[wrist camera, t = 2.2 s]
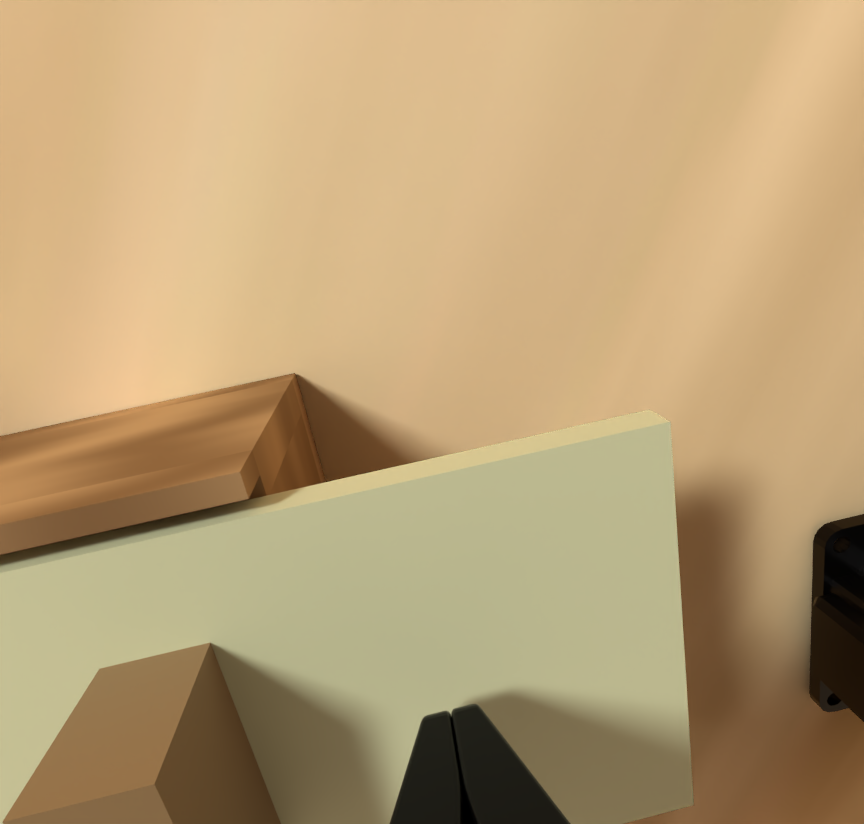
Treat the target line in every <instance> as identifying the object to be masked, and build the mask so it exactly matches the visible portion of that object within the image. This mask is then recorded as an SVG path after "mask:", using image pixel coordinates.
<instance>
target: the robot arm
mask: <svg viewBox="0 0 864 824" xmlns="http://www.w3.org/2000/svg"><path fill="white" fill-rule="evenodd" d="M836 540H837V541H836ZM835 541H836V542H835ZM834 542H835V543H834ZM809 693H810V697H811V698H812V699H813V700H814V701H815V702H816V703H817V704H818V705H819V706H820V707H821V708H822V709H823V710H824V711H827V712H833V711H838V710H842V709H846V708H850V709H851V710H852V711H853V712H854V713H855V714H856V715H857V716H858V717H859V718H860V719H861V720H862V721H863V722H864V514H862V515H858V516H854V517H850V518H845V519H841V520H837V521H833V522H830V523H827V524H825V525H823V526H822V527H821V528H820V529H819V530H818V531H817V533H816V534H815V537H814V541H813V579H812V617H811V655H810V692H809ZM390 824H571V823H570V822H569V821H568V820H567V818H566V817H565V816H564V814H563V813H562V812H561V810H560V809H559V808H558V807H557V805H556V804H555V803H554V801H553V800H552V799H551V798H550V796H549V795H548V794H547V792H546V791H545V790H544V789H543V787H542V786H541V785H540V783H539V782H538V781H537V779H536V778H535V777H534V776H533V774H532V773H531V772H530V770H529V769H528V768H527V767H526V765H525V764H524V763H523V761H522V760H521V759H520V757H519V756H518V755H517V754H516V752H515V751H514V750H513V748H512V747H511V746H510V745H509V743H508V742H507V741H506V739H505V738H504V737H503V735H502V734H501V733H500V732H499V730H498V729H497V728H496V726H495V725H494V724H493V723H492V721H491V720H490V719H489V717H488V716H487V715H486V713H485V712H484V711H483V710H482V708H481V707H480V706H479V705H478V704H470V705H466V706H462V707H458V708H454V709H453V710H452V712H451V714H450V712H449V711H441V712H437V713H433V714H429V715H426V716H424V717H423V719H422V721H421V723H420V726H419V730H418V733H417V736H416V739H415V743H414V746H413V749H412V752H411V756H410V759H409V762H408V765H407V769H406V772H405V775H404V778H403V782H402V785H401V788H400V791H399V795H398V798H397V801H396V804H395V808H394V811H393V814H392V817H391V820H390Z"/></svg>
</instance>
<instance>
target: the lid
mask: <svg viewBox="0 0 864 824" xmlns="http://www.w3.org/2000/svg"><path fill="white" fill-rule="evenodd" d="M470 704H478V705H479V706H480V707H481V708H482V710H483V711H484V712H485V713H486V715H487V716H488V717H489V719H490V720H491V721H492V723H493V724H494V725H495V726H496V728H497V729H498V730H499V732H500V733H501V734H502V735H503V737H504V738H505V739H506V741H507V742H508V743H509V745H510V746H511V747H512V748H513V750H514V751H515V752H516V754H517V755H518V756H519V757H520V759H521V760H522V761H523V763H524V764H525V765H526V767H527V768H528V769H529V770H530V772H531V773H532V774H533V776H534V777H535V778H536V779H537V781H538V782H539V783H540V785H541V786H542V787H543V789H544V790H545V791H546V792H547V794H548V795H549V796H550V798H551V799H552V800H553V801H554V803H555V804H556V805H557V807H558V808H559V809H560V810H561V812H562V813H563V814H564V816H565V817H566V818H567V820H568V821H569V822H570V823H571V824H625V823H629V822H632V821H636V820H640V819H644V818H648V817H651V816H655V815H659V814H663V813H666V812H670V811H674V810H678V809H682V808H685V807H689V806H693V805H694V798H693V782H692V765H691V749H690V733H689V716H688V700H687V684H686V668H685V651H684V635H683V619H682V602H681V586H680V570H679V554H678V537H677V521H676V505H675V488H674V472H673V456H672V439H671V423H670V421H669V420H667V419H665V418H663V417H662V416H660V415H658V414H657V413H655V412H653V411H651V410H645V411H641V412H636V413H632V414H627V415H623V416H618V417H614V418H610V419H605V420H601V421H596V422H592V423H587V424H583V425H578V426H574V427H569V428H565V429H561V430H556V431H552V432H547V433H543V434H538V435H534V436H529V437H525V438H521V439H516V440H512V441H507V442H503V443H498V444H494V445H489V446H485V447H480V448H476V449H472V450H467V451H463V452H458V453H454V454H449V455H445V456H440V457H436V458H431V459H427V460H423V461H418V462H414V463H409V464H405V465H400V466H396V467H391V468H387V469H383V470H378V471H374V472H369V473H365V474H360V475H356V476H351V477H347V478H342V479H338V480H334V481H329V482H325V483H320V484H316V485H311V486H307V487H302V488H298V489H293V490H289V491H285V492H280V493H276V494H271V495H267V496H262V497H258V498H253V499H249V500H245V501H240V502H236V503H231V504H227V505H222V506H218V507H213V508H209V509H204V510H200V511H196V512H191V513H187V514H182V515H178V516H173V517H169V518H164V519H160V520H155V521H151V522H147V523H142V524H138V525H133V526H129V527H124V528H120V529H115V530H111V531H107V532H102V533H98V534H93V535H89V536H84V537H80V538H75V539H71V540H66V541H62V542H58V543H53V544H49V545H44V546H40V547H35V548H31V549H26V550H22V551H17V552H13V553H9V554H4V555H0V824H390V820H391V817H392V814H393V811H394V808H395V804H396V801H397V798H398V795H399V791H400V788H401V785H402V782H403V778H404V775H405V772H406V769H407V765H408V762H409V759H410V756H411V752H412V749H413V746H414V743H415V739H416V736H417V733H418V730H419V726H420V723H421V721H422V719H423V717H424V716H426V715H429V714H433V713H437V712H441V711H449V712H450V714H451V712H452V710H453V709H454V708H458V707H462V706H466V705H470Z"/></svg>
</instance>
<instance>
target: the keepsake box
mask: <svg viewBox="0 0 864 824" xmlns="http://www.w3.org/2000/svg"><path fill="white" fill-rule="evenodd" d="M320 483H325V478H324V475H323V471H322V467H321V464H320V460H319V457H318V453H317V449H316V446H315V442H314V439H313V435H312V432H311V428H310V424H309V421H308V417H307V414H306V410H305V406H304V403H303V399H302V396H301V392H300V388H299V385H298V381H297V378H296V374H295V373H294V374H289V375H285V376H280V377H275V378H271V379H266V380H261V381H257V382H252V383H247V384H243V385H238V386H233V387H229V388H224V389H219V390H215V391H210V392H205V393H201V394H196V395H191V396H187V397H182V398H177V399H173V400H168V401H163V402H159V403H154V404H149V405H144V406H140V407H135V408H130V409H126V410H121V411H116V412H112V413H107V414H102V415H98V416H93V417H88V418H84V419H79V420H74V421H70V422H65V423H60V424H56V425H51V426H46V427H42V428H37V429H32V430H28V431H23V432H18V433H14V434H9V435H4V436H0V555H4V554H9V553H13V552H17V551H22V550H26V549H31V548H35V547H40V546H44V545H49V544H53V543H58V542H62V541H66V540H71V539H75V538H80V537H84V536H89V535H93V534H98V533H102V532H107V531H111V530H115V529H120V528H124V527H129V526H133V525H138V524H142V523H147V522H151V521H155V520H160V519H164V518H169V517H173V516H178V515H182V514H187V513H191V512H196V511H200V510H204V509H209V508H213V507H218V506H222V505H227V504H231V503H236V502H240V501H245V500H249V499H253V498H258V497H262V496H267V495H271V494H276V493H280V492H285V491H289V490H293V489H298V488H302V487H307V486H311V485H316V484H320Z"/></svg>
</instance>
